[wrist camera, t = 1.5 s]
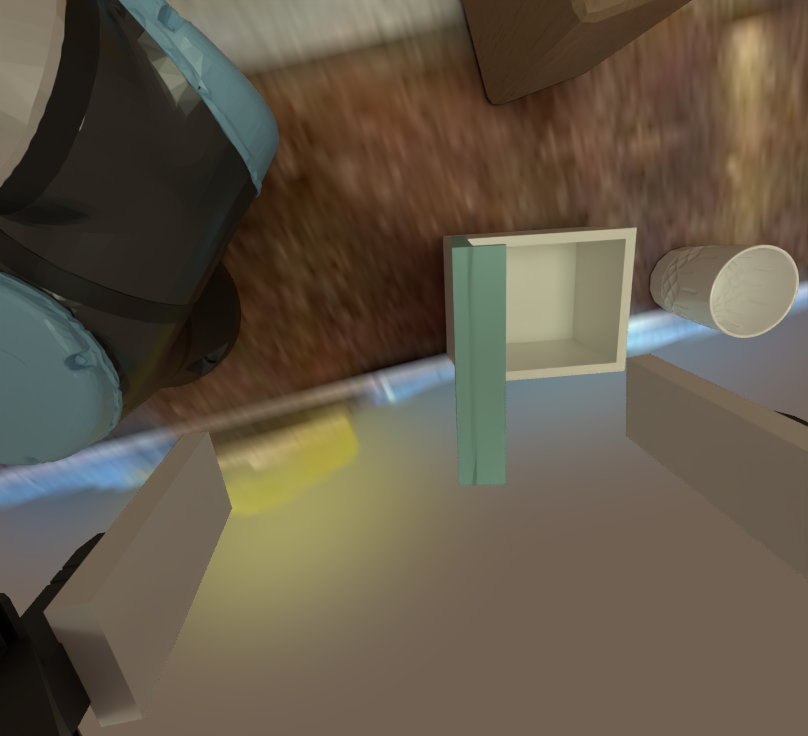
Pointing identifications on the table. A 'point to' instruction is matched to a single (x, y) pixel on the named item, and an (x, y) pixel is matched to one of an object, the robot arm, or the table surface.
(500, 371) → the lid
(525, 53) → the block
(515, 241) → the box
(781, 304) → the white cup
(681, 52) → the table surface
